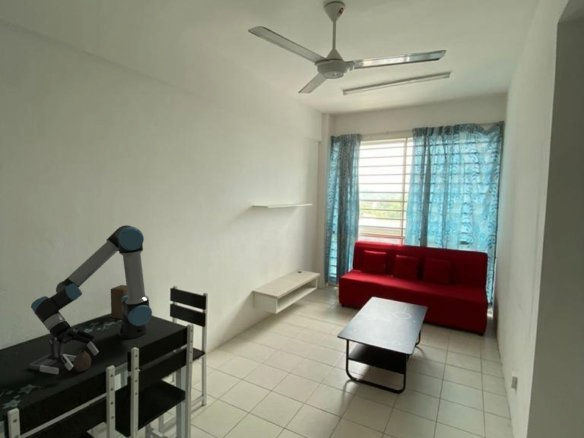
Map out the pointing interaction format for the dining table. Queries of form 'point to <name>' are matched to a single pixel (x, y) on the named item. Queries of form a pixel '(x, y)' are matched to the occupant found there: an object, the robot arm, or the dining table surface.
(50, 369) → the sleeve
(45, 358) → the grey flat frame
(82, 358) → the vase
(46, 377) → the dining table surface
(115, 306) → the block
